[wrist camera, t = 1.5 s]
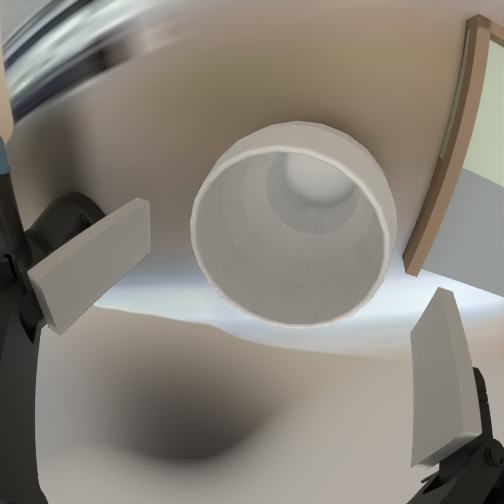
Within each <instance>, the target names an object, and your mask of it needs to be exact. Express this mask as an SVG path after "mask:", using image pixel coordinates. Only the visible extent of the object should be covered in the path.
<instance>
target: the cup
mask: <svg viewBox="0 0 504 504" xmlns="http://www.w3.org/2000/svg"><path fill="white" fill-rule="evenodd" d="M190 229H191V242H192V247H193V250H194V253H195V256H196V259H197V262H198V265H199V267H200V268H201V270H202V272H203V273H204V275H205V277H206V278H207V280H208V281H209V283H210V285H211V286H212V287H213V288H214V289H215V290H216V291H217V292H218V293H219V294H220V295H221V296H222V297H223V298H224V299H225V300H226V301H227V302H228V303H230V304H231V305H233V306H234V307H235V308H237V309H238V310H240V311H241V312H243V313H244V314H246V315H248V316H250V317H252V318H255V319H257V320H259V321H261V322H264V323H266V324H271V325H275V326H279V327H284V328H292V329H312V328H318V327H323V326H328V325H332V324H335V323H337V322H339V321H341V320H343V319H346V318H348V317H350V316H352V315H353V314H355V313H356V312H357V311H358V310H360V309H361V308H362V307H363V306H364V305H366V304H367V303H368V302H369V301H370V300H371V299H372V297H373V296H374V295H375V293H376V292H377V290H378V289H379V287H380V286H381V284H382V283H383V281H384V278H385V275H386V272H387V268H388V265H389V262H390V258H391V255H392V251H393V248H394V244H395V240H396V237H397V213H396V206H395V203H394V200H393V197H392V194H391V191H390V188H389V185H388V182H387V180H386V177H385V174H384V172H383V170H382V169H381V167H380V166H379V164H378V163H377V162H376V160H375V159H374V157H373V156H372V155H371V153H370V152H369V151H368V150H367V149H366V148H365V147H363V146H362V145H361V144H360V143H358V142H357V141H356V140H354V139H353V138H352V137H351V136H349V135H348V134H346V133H344V132H341V131H339V130H337V129H334V128H332V127H329V126H327V125H324V124H320V123H312V122H304V121H292V122H285V123H279V124H274V125H270V126H267V127H265V128H262V129H260V130H258V131H256V132H254V133H252V134H250V135H248V136H246V137H244V138H242V139H240V140H238V141H236V142H235V143H234V144H233V145H232V146H231V147H230V148H229V149H228V150H227V151H226V152H225V153H224V154H223V155H222V156H221V157H220V158H219V159H218V160H217V162H216V163H215V165H214V166H213V168H212V169H211V171H210V173H209V174H208V176H207V177H206V179H205V181H204V182H203V184H202V186H201V188H200V190H199V192H198V194H197V195H196V197H195V199H194V204H193V209H192V214H191V219H190Z"/></svg>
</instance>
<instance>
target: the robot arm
mask: <svg viewBox="0 0 504 504" xmlns="http://www.w3.org/2000/svg"><path fill="white" fill-rule="evenodd" d="M10 172H11V168H10V166H9V165H8V161H7V157H6V152H5V147H4V142H3V140H2V138H1V137H0V504H48V502H47V499H46V497H45V495H44V494H43V492H42V491H41V489H40V486H39V481H38V472H37V461H36V446H35V388H36V387H35V386H36V372H37V361H38V351H39V342H40V335H41V329H42V328H43V327H44V326H45V325H46V324H47V325H48V327H49V328H50V329H51V330H53V331H54V332H55V333H57V334H58V335H60V336H61V335H62V334H63V333H64V332H65V331H66V330H67V329H68V328H69V327H70V326H71V325H72V324H73V323H74V322H75V321H76V320H77V319H78V318H79V317H80V316H81V315H82V314H83V313H84V312H85V311H87V310H88V308H90V307H91V306H92V305H93V304H94V303H95V302H96V301H97V300H98V299H99V298H100V297H101V296H102V295H103V294H104V293H105V292H106V291H108V290H109V289H110V288H111V287H112V286H113V285H114V284H115V283H116V282H117V281H118V280H119V279H121V278H122V277H123V276H124V275H125V274H126V273H127V272H128V271H129V270H130V269H132V268H133V267H134V266H135V265H136V264H137V263H138V262H139V261H140V260H142V259H143V258H144V257H145V256H146V255H147V254H148V253H150V252H151V251H152V250H151V228H150V201H149V200H145V199H141V198H135V199H134V200H132V201H130V202H129V203H127V204H125V205H124V206H122V207H120V208H119V209H117V210H116V211H114V212H112V213H111V214H109V215H108V216H106V217H105V216H104V215H103V213H102V212H101V211H100V209H99V208H98V207H97V206H96V205H95V204H94V203H93V202H92V201H90V200H89V199H88V198H86V197H85V196H83V195H81V194H78V193H73V192H71V193H66V194H64V195H62V196H60V197H58V198H56V199H55V200H53V201H52V202H51V203H50V204H49V205H48V207H47V208H46V209H45V210H44V211H43V212H42V214H41V215H40V216H39V217H38V218H37V220H36V221H35V222H34V223H33V225H32V226H31V227H30V228H29V229H28V230H26V231H25V232H24V229H23V226H22V222H21V219H20V215H19V211H18V207H17V203H16V199H15V195H14V190H13V186H12V181H11V176H10ZM411 345H412V361H413V387H414V419H413V445H412V446H413V447H412V460H411V468H423V469H429V468H431V467H433V466H434V465H436V464H438V463H439V471H437V472H436V473H434V474H432V475H430V476H428V477H427V478H425V479H423V480H422V481H421V483H424V482H426V481H428V482H427V483H426V484H425V485H424V486H423V487H422V488H421V489H420V490H419V491H418V493H417V494H416V495H415V496H414V497H413V498H412V499H411V500H410V501H409V502H408V503H407V504H504V448H503V446H502V444H501V443H500V442H499V441H497V440H496V439H493V434H492V425H491V417H490V410H489V404H488V403H487V402H488V398H487V394H486V386H485V381H484V378H483V376H482V374H481V373H480V371H479V369H478V368H475V367H472V362H471V358H470V353H469V349H468V345H467V340H466V336H465V333H464V329H463V325H462V321H461V318H460V314H459V311H458V307H457V304H456V301H455V298H454V295H453V292H452V291H449V290H446V289H443V288H440V287H438V288H437V290H436V292H435V294H434V296H433V297H432V299H431V301H430V302H429V304H428V306H427V308H426V309H425V311H424V312H423V314H422V316H421V317H420V319H419V321H418V322H417V324H416V325H415V327H414V328H413V330H412V332H411Z"/></svg>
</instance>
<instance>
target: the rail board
mask: <svg viewBox="0 0 504 504" xmlns="http://www.w3.org/2000/svg"><path fill="white" fill-rule="evenodd" d="M402 257H403V262H404V267H405V272H406V274H409V275H412V276H416V277H417V276H418V274H419V272H420V270H421V269H424V270H427V271H430V272H433V273H436V274H439V275H442V276H445V277H448V278H451V279H454V280H456V281H459V282H462V283H465V284H468V285H471V286H474V287H477V288H479V289H482V290H485V291H488V292H491V293H494V294H496V295H499V296H502V297H504V28H503V27H502V26H500V25H498V24H496V23H495V22H493V21H491V20H489V19H488V18H486V17H484V16H482V15H480V14H477V15H476V16H474V17H472V18H470V19H469V20H467V24H466V34H465V42H464V49H463V56H462V63H461V69H460V74H459V80H458V85H457V90H456V95H455V99H454V104H453V108H452V113H451V117H450V121H449V125H448V129H447V132H446V136H445V140H444V143H443V147H442V150H441V154H440V157H439V160H438V163H437V167H436V170H435V173H434V176H433V179H432V182H431V185H430V188H429V191H428V193H427V196H426V199H425V202H424V204H423V207H422V210H421V212H420V215H419V218H418V220H417V223H416V225H415V228H414V230H413V233H412V235H411V238H410V240H409V242H408V245H407V247H406V249H405V252H404V254H403V256H402Z"/></svg>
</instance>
